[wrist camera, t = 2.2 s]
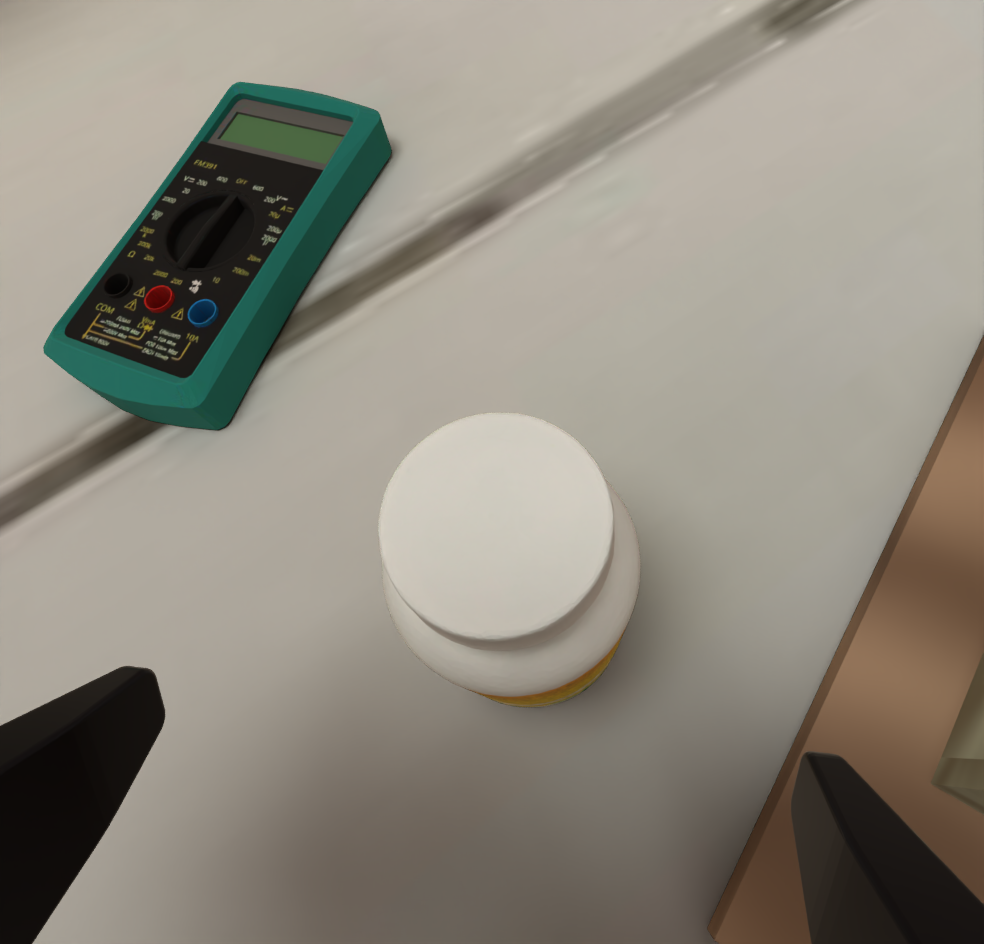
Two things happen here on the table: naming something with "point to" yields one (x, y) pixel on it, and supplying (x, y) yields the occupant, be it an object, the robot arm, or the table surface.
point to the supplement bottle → (508, 559)
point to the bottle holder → (896, 691)
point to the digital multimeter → (221, 255)
